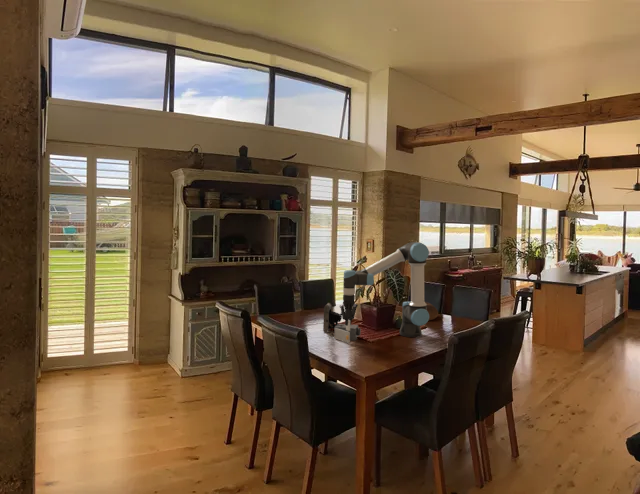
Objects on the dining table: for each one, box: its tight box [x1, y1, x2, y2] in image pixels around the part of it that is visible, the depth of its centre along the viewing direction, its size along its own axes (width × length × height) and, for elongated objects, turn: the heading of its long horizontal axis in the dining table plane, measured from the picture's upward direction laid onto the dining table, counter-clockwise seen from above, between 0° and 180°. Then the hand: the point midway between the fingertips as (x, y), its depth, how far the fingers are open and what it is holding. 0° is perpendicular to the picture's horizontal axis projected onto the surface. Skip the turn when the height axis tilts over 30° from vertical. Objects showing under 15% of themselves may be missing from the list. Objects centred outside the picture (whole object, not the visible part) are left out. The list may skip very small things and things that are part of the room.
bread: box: [424, 301, 439, 321], centre depth 348 cm, size 26×27×13 cm
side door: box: [333, 328, 351, 344], centre depth 278 cm, size 14×2×7 cm, turn 40°
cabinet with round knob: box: [335, 323, 362, 341], centre depth 286 cm, size 16×9×9 cm, turn 75°
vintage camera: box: [322, 302, 343, 334], centre depth 301 cm, size 10×16×20 cm, turn 78°
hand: (348, 330), depth 277 cm, fingers closed
